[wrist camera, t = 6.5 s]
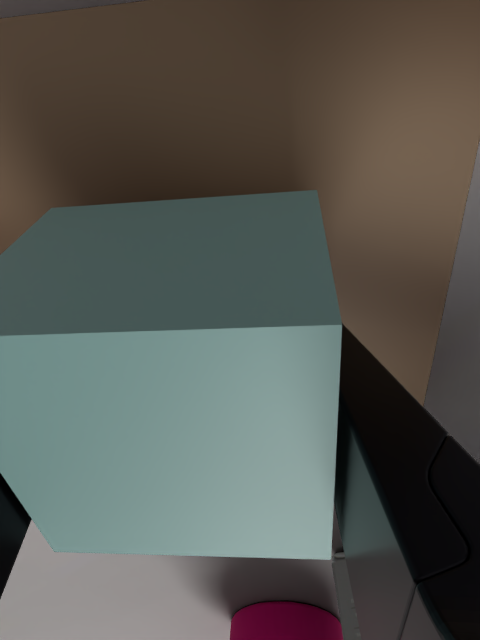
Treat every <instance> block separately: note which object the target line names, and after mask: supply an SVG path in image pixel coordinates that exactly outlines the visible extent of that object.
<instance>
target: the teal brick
mask: <svg viewBox="0 0 480 640" xmlns="http://www.w3.org/2000/svg"><path fill="white" fill-rule="evenodd" d="M341 339H342V321H341V316H340V310H339V305H338V300H337V294H336V289H335V284H334V278H333V273H332V268H331V262H330V257H329V252H328V246H327V241H326V236H325V230H324V225H323V219H322V214H321V209H320V203H319V198H318V193H317V190H308V191H293V192H279V193H264V194H249V195H235V196H220V197H205V198H191V199H176V200H161V201H147V202H132V203H117V204H103V205H88V206H73V207H59V208H51V209H50V210H49V211H47V212H46V213H45V214H44V215H43V216H42V217H41V218H40V219H39V220H38V221H37V222H36V223H34V224H33V225H32V226H31V227H30V228H29V229H28V230H27V231H26V232H25V233H24V234H23V235H21V236H20V237H19V238H18V239H17V240H16V241H15V242H14V243H13V244H12V245H11V246H9V247H8V248H7V249H6V250H5V251H4V252H3V253H2V254H1V255H0V473H1V474H2V476H3V477H4V479H5V480H6V482H7V483H8V485H9V486H10V488H11V489H12V491H13V492H14V493H15V495H16V496H17V498H18V499H19V501H20V502H21V504H22V505H23V507H24V508H25V510H26V511H27V513H28V514H29V515H30V517H31V518H32V520H33V521H34V523H35V524H36V526H37V527H38V529H39V530H40V532H41V533H42V535H43V536H44V538H45V539H46V540H47V542H48V543H49V545H50V546H51V548H52V549H53V551H54V552H76V553H111V554H146V555H182V556H217V557H252V558H287V559H322V560H331V550H332V529H333V508H334V487H335V466H336V445H337V424H338V402H339V381H340V360H341Z"/></svg>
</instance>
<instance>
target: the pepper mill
mask: <svg viewBox="0 0 480 640" xmlns="http://www.w3.org/2000/svg"><path fill="white" fill-rule="evenodd" d="M230 640H343V634H342V627H341V623H340V622H339V621H338V619H337V618H336V617H335V616H333V615H332V614H331V613H329V612H327V611H325V610H322V609H320V608H317V607H314V606H311V605H307V604H301V603H295V602H264V603H257V604H254V605H250V606H247V607H244V608H242V609H241V610H239V611H238V612H237V613H235V615H234V617H233V618H232V621H231V631H230Z"/></svg>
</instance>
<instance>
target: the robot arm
mask: <svg viewBox="0 0 480 640" xmlns="http://www.w3.org/2000/svg"><path fill="white" fill-rule="evenodd" d="M334 504H335V509H336V514H337V519H338V524H339V529H340V534H341V539H342V544H343V549H344V554H345V559H346V564H347V569H348V574H349V579H350V584H351V589H352V594H353V599H354V604H355V609H356V614H357V619H358V624H359V629H360V634H361V639H362V640H480V464H479V463H478V462H477V461H476V460H475V459H473V458H472V457H471V456H470V455H469V454H468V453H467V452H466V451H465V450H464V448H463V447H462V446H461V445H460V444H459V443H458V442H457V441H456V440H455V439H454V438H453V437H452V436H448V432H447V431H446V430H445V429H444V428H443V427H442V426H441V425H440V424H439V423H438V422H437V421H436V420H435V419H434V418H433V417H432V416H431V415H430V413H429V412H428V411H427V410H426V409H425V408H424V407H423V406H422V405H421V404H420V403H419V402H418V401H417V400H416V399H415V398H414V397H413V396H412V395H411V394H410V393H409V392H408V391H407V390H406V389H405V388H404V387H403V385H402V384H401V383H400V382H399V381H398V380H397V379H396V378H395V377H394V376H393V375H392V374H391V373H390V372H389V371H388V370H387V369H386V368H385V367H384V366H383V365H382V364H381V363H380V362H379V361H378V360H377V359H376V357H375V356H374V355H373V354H372V353H371V352H370V351H369V350H368V349H367V348H366V347H365V346H364V345H363V344H362V343H361V342H360V341H359V340H358V339H357V338H356V337H355V336H354V335H353V334H352V333H351V332H350V331H349V329H348V328H347V327H346V326H345V325H344V324H343V323H342V339H341V360H340V381H339V402H338V424H337V445H336V466H335V487H334ZM31 519H32V518H31V517H30V515H29V514H28V513H27V511H26V510H25V508H24V507H23V505H22V504H21V502H20V501H19V499H18V498H17V496H16V495H15V493H14V492H13V491H12V489H11V488H10V486H9V485H8V483H7V482H6V480H5V479H4V477H3V476H2V474H1V473H0V599H1V596H2V593H3V591H4V588H5V586H6V583H7V581H8V578H9V576H10V573H11V570H12V568H13V565H14V563H15V560H16V558H17V555H18V552H19V550H20V547H21V545H22V542H23V540H24V537H25V535H26V532H27V529H28V527H29V524H30V522H31Z"/></svg>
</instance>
